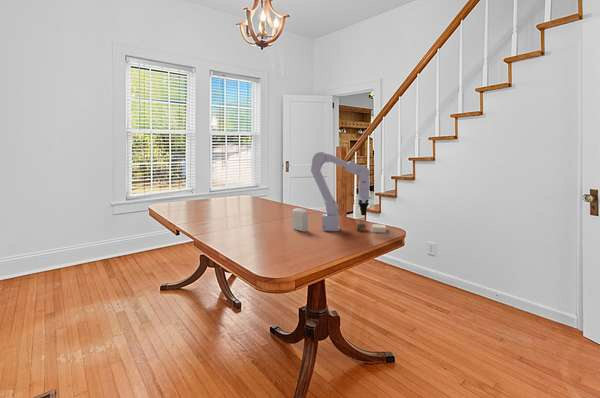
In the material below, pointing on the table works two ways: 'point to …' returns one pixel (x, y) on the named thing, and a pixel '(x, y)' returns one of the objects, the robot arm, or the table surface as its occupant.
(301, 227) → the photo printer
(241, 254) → the table surface
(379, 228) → the cream block
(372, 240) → the table surface
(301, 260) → the table surface
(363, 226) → the walnut cube
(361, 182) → the robot arm
